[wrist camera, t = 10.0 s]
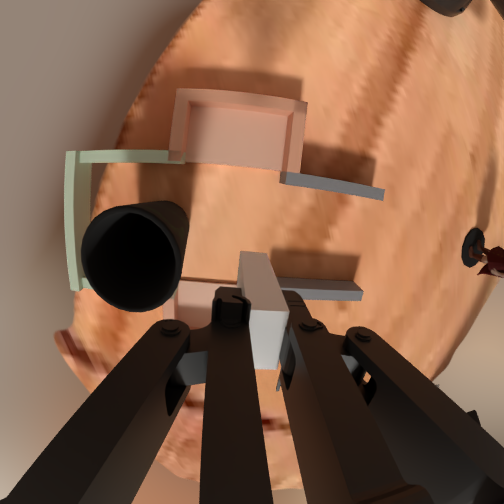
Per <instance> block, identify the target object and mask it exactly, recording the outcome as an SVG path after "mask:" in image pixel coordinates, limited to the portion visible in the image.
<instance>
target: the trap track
mask: <svg viewBox="0 0 504 504" xmlns="http://www.w3.org/2000/svg"><path fill="white" fill-rule="evenodd" d="M307 104H308V102H304V101H299V100H293V99H288V98H282V97H276V96H269V95H262V94H255V93H247V92H237V91H227V90H213V89H193V88H177V92H176V98H175V104H174V111H173V118H172V126H171V134H170V142H169V150H94V151H67V152H66V162H65V183H64V221H65V240H66V254H67V264H68V272H69V280H70V288H71V290H74V291H81V290H82V289H83V288H88V289H93V288H92V287H91V286H90V284H89V282H88V280H87V278H86V276H85V274H84V270H83V267H82V263H81V245H82V239H83V236H84V234H85V231H86V229H87V227H88V226H89V224H90V195H91V171H92V163H114V162H124V163H167V164H185V162H193V163H207V164H220V165H231V166H241V167H251V168H259V169H268V170H275V171H281V175H280V183H282V184H286V185H293V186H300V187H307V188H314V189H320V190H327V191H333V192H339V193H344V194H350V195H356V196H361V197H366V198H371V199H376V200H381V201H383V198H384V192H385V189H380V188H376V187H371V186H367V185H362V184H357V183H352V182H347V181H341V180H336V179H330V178H325V177H319V176H313V175H307V174H300V167H301V158H302V150H303V141H304V132H305V123H306V114H307ZM276 278H277V281H278V283H279V286H280V288H281V290H292V291H295V292H297V293H298V294H299V295H301V297H302V299H306V300H338V301H361V299H362V295H363V292H364V291H363V290H362V289H361V288H360V287H359V286H358V285H357V284H356V283H355V282H354V281H338V280H320V279H303V278H287V277H276ZM220 286H223V287H236V288H237V284H226V283H213V282H201V281H190V280H180V281H179V284H178V287H177V289H176V290H175V292H174V293H173V295H172V297H171V298H170V299H169V300H167V301H166V302H165V303H164V304H163V320H164V319H175V320H180V321H182V322H185V323H186V324H187V325H188V326H189V328H190V330H193V329H200V328H203V327H205V326H207V325H209V324H210V322H211V315H212V300H213V299H214V296H215V290H216V289H218V288H219V287H220Z"/></svg>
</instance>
